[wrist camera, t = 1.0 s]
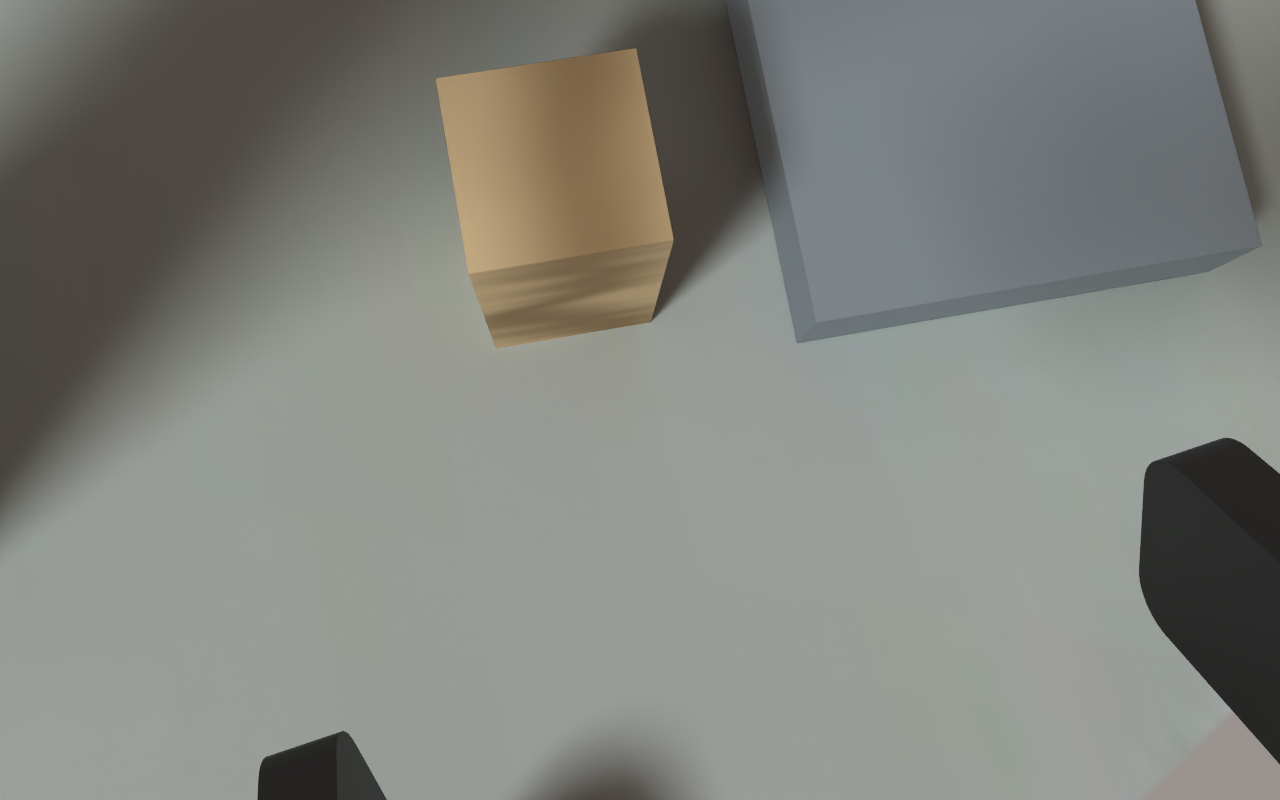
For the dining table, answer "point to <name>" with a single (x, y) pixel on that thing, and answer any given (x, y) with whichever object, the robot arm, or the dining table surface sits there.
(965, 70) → the plinth
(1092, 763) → the dining table surface
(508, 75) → the block
